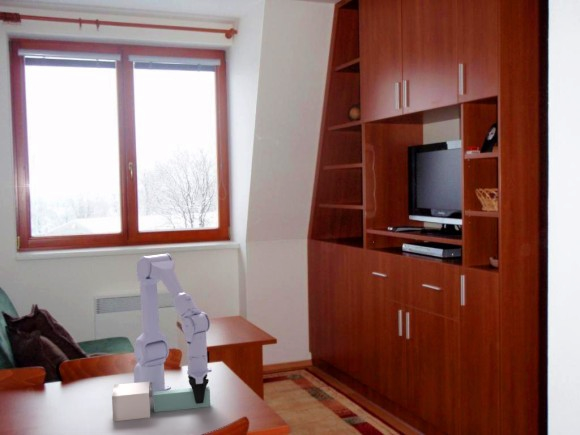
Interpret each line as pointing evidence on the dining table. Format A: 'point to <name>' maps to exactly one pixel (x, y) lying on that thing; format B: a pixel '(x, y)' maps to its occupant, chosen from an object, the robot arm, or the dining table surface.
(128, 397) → the white box
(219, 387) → the dining table surface
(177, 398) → the mint green rectangular block
